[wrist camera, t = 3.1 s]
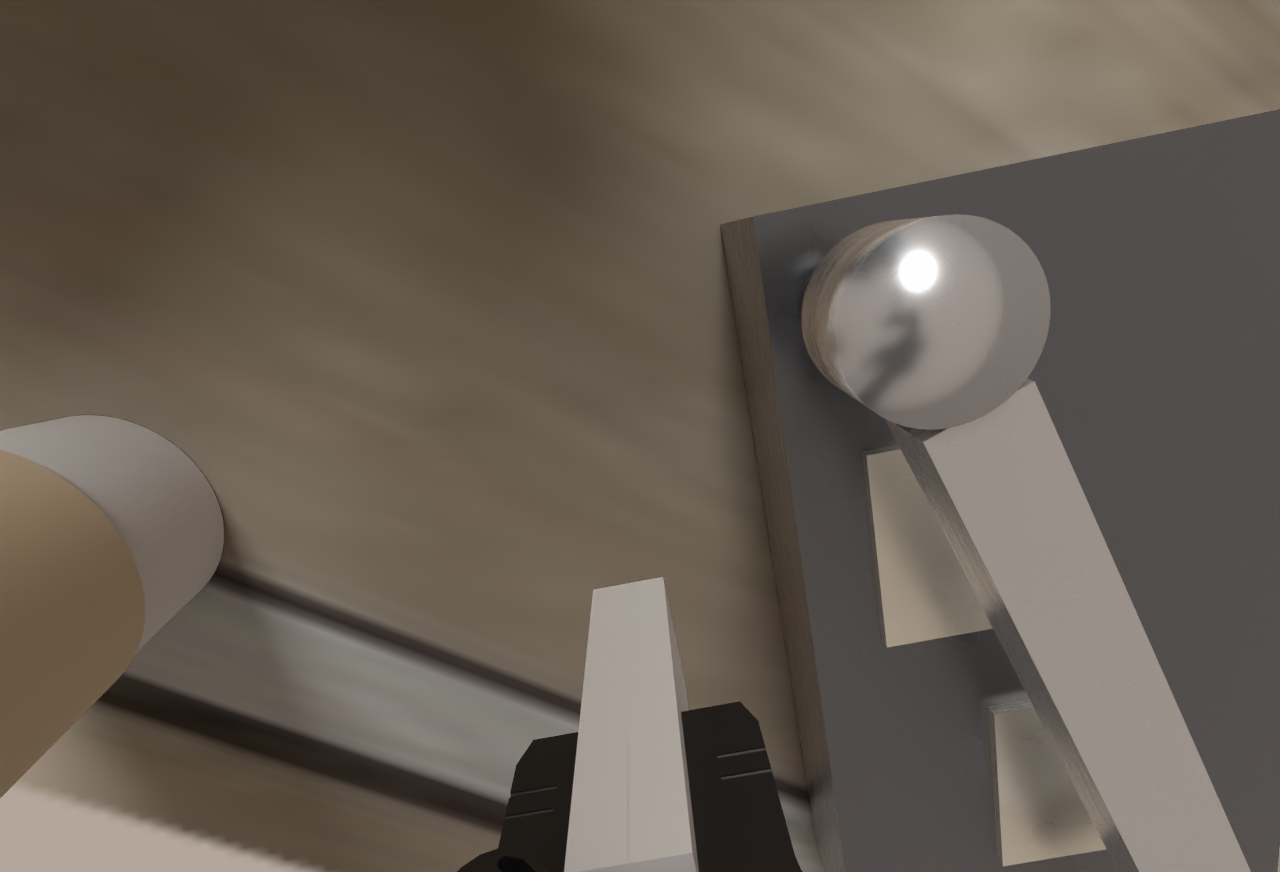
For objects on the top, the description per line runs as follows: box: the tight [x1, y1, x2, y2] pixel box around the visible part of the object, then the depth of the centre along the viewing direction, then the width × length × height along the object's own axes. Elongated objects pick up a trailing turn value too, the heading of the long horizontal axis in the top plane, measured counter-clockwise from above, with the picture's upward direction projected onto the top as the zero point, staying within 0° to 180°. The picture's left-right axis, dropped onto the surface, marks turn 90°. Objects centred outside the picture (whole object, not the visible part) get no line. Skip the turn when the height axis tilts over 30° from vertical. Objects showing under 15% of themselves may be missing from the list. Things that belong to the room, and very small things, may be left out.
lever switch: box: [721, 110, 1280, 872], centre depth 17 cm, size 22×12×8 cm, turn 11°
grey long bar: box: [801, 214, 1251, 872], centre depth 12 cm, size 21×3×2 cm, turn 31°
